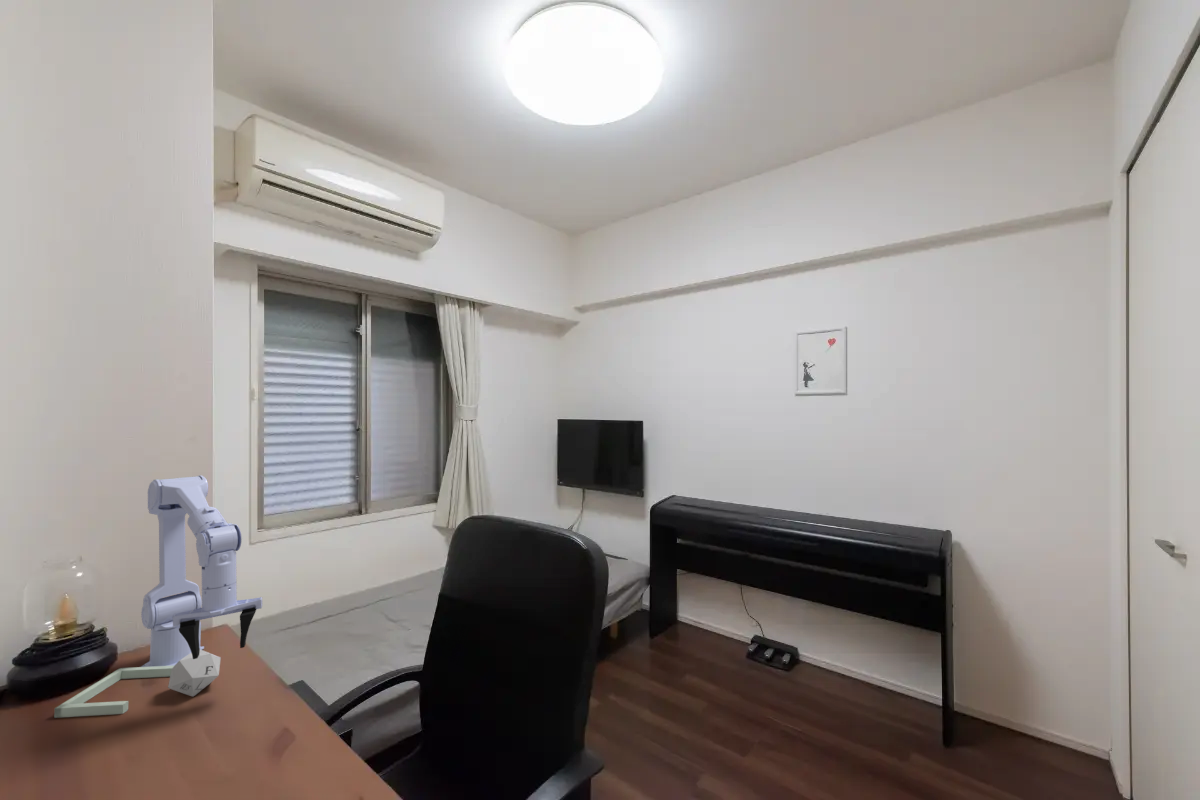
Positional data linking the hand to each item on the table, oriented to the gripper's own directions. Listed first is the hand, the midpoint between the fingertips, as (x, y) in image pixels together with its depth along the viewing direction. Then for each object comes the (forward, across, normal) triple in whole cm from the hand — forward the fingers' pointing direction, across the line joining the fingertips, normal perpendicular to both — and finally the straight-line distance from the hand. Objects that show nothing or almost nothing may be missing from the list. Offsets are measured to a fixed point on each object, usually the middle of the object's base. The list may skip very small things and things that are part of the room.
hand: (220, 651), depth 98 cm
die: (+9, -6, +8) cm, 14 cm away
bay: (+8, -19, +14) cm, 24 cm away
